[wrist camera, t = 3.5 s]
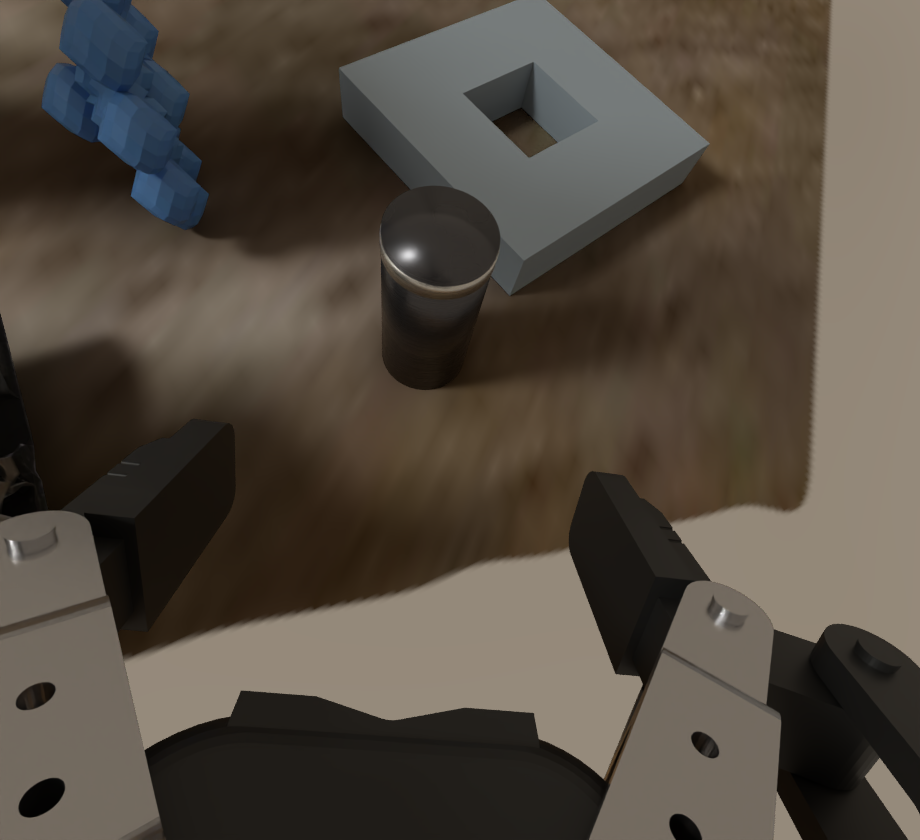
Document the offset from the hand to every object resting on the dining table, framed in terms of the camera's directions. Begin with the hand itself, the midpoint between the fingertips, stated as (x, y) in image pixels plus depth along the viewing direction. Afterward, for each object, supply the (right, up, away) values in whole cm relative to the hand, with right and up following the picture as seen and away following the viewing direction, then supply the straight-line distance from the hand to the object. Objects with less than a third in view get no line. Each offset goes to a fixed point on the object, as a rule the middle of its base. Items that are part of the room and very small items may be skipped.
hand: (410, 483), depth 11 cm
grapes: (-17, +15, +19) cm, 30 cm away
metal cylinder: (-1, +5, +18) cm, 18 cm away
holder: (+5, +21, +25) cm, 33 cm away
